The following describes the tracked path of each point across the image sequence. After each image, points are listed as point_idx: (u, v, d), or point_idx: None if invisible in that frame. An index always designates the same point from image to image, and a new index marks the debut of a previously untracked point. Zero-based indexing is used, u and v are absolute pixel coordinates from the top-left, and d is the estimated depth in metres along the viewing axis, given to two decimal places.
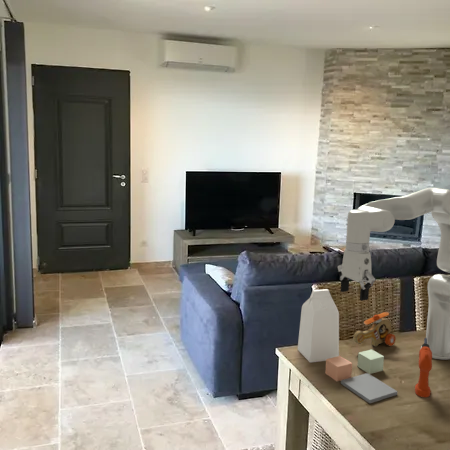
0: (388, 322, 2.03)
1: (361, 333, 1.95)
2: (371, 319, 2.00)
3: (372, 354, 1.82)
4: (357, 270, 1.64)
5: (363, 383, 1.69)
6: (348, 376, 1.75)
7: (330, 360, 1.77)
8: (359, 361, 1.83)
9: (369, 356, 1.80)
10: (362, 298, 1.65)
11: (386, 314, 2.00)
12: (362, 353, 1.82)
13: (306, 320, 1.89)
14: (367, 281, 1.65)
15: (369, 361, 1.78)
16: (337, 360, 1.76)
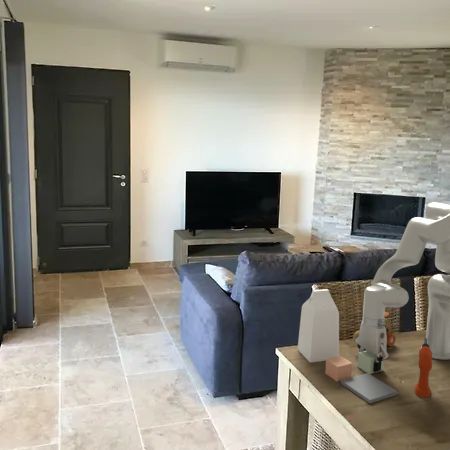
0: (388, 322, 2.03)
1: None
2: None
3: (372, 354, 1.82)
4: (373, 343, 1.76)
5: (363, 383, 1.69)
6: (348, 376, 1.75)
7: (330, 360, 1.77)
8: (359, 361, 1.83)
9: (369, 355, 1.80)
10: (375, 370, 1.78)
11: (386, 314, 2.00)
12: (362, 353, 1.82)
13: (306, 320, 1.89)
14: (381, 354, 1.78)
15: (369, 361, 1.78)
16: (337, 360, 1.76)
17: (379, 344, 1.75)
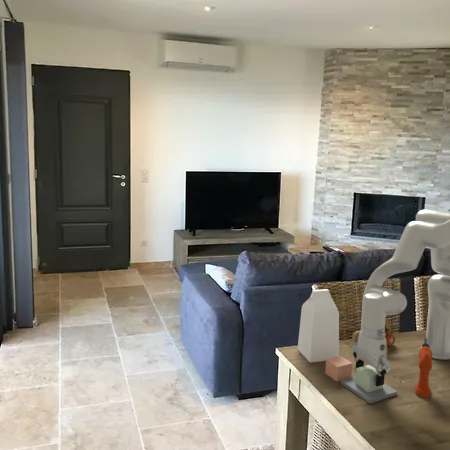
0: (388, 322, 2.03)
1: None
2: None
3: (371, 370, 1.67)
4: (373, 356, 1.61)
5: None
6: (348, 376, 1.75)
7: (330, 360, 1.77)
8: (357, 377, 1.68)
9: (368, 372, 1.65)
10: (378, 384, 1.62)
11: None
12: (360, 369, 1.68)
13: (306, 320, 1.89)
14: (383, 367, 1.62)
15: (368, 378, 1.63)
16: (337, 360, 1.76)
17: (379, 357, 1.60)
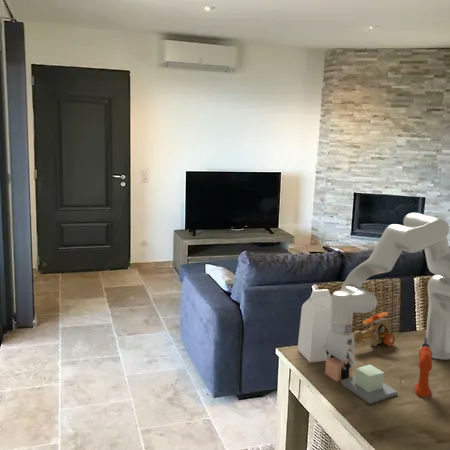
0: (387, 322, 2.03)
1: (359, 333, 1.95)
2: (370, 319, 2.01)
3: (371, 370, 1.67)
4: (340, 350, 1.71)
5: None
6: None
7: (330, 360, 1.77)
8: (357, 377, 1.68)
9: (368, 372, 1.65)
10: (343, 377, 1.73)
11: (385, 314, 2.00)
12: (360, 369, 1.68)
13: (306, 320, 1.89)
14: (348, 361, 1.73)
15: (368, 378, 1.63)
16: (337, 360, 1.76)
17: (346, 351, 1.70)
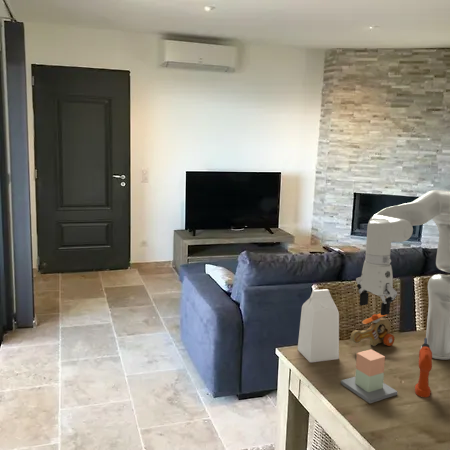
0: (387, 322, 2.03)
1: (358, 332, 1.95)
2: (370, 319, 2.01)
3: None
4: (378, 283, 1.57)
5: None
6: (381, 370, 1.65)
7: (361, 354, 1.66)
8: (357, 377, 1.68)
9: None
10: (383, 313, 1.57)
11: None
12: None
13: (306, 320, 1.89)
14: (388, 295, 1.57)
15: (368, 378, 1.63)
16: (369, 354, 1.66)
17: (384, 284, 1.56)
